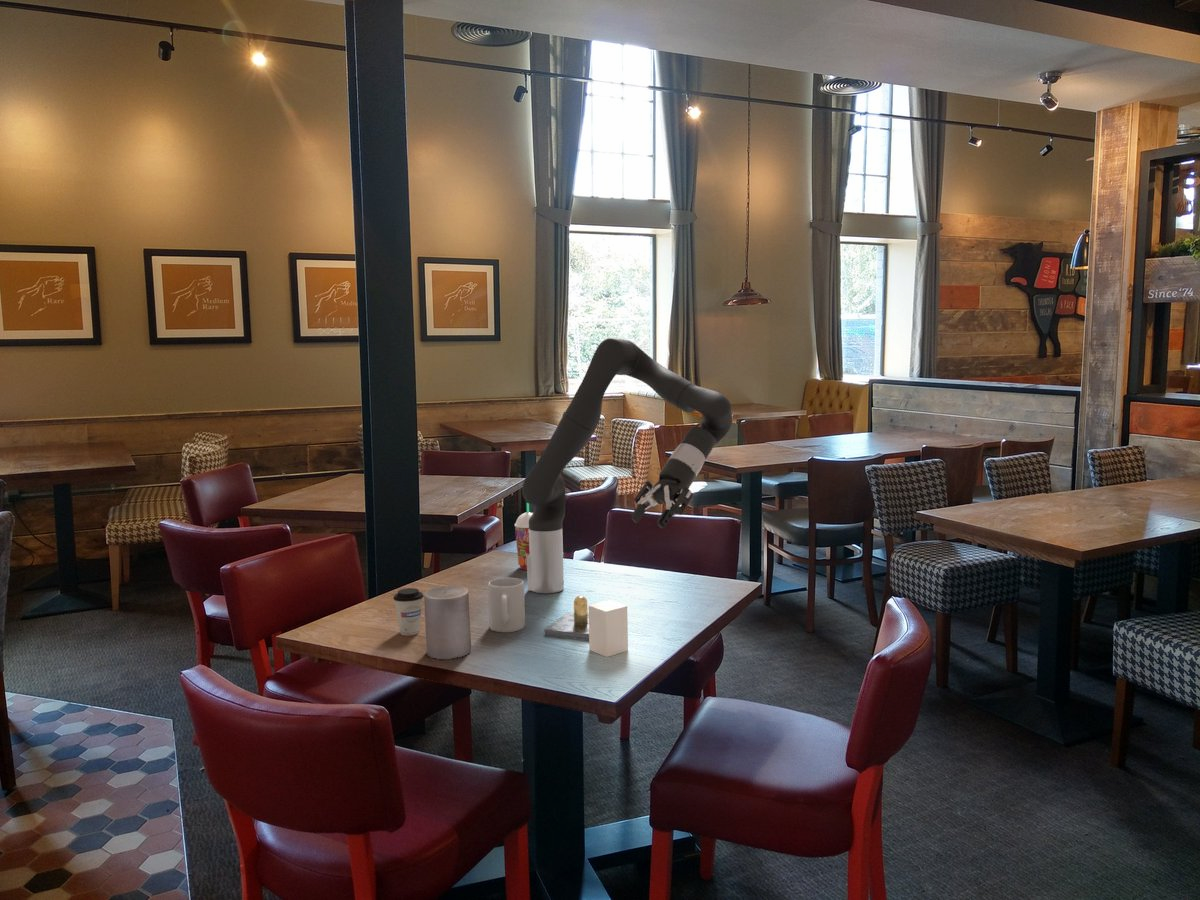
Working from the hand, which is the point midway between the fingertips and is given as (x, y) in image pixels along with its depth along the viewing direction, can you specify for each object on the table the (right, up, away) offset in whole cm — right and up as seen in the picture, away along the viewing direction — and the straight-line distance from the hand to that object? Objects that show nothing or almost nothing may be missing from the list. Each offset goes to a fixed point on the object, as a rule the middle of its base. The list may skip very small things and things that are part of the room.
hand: (646, 523), depth 188 cm
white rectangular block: (-9, -27, -4) cm, 29 cm away
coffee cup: (-55, -27, +10) cm, 62 cm away
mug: (-33, -26, +11) cm, 43 cm away
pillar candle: (-44, -28, -4) cm, 52 cm away
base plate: (-15, -26, +10) cm, 31 cm away
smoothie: (-32, -20, +68) cm, 78 cm away
